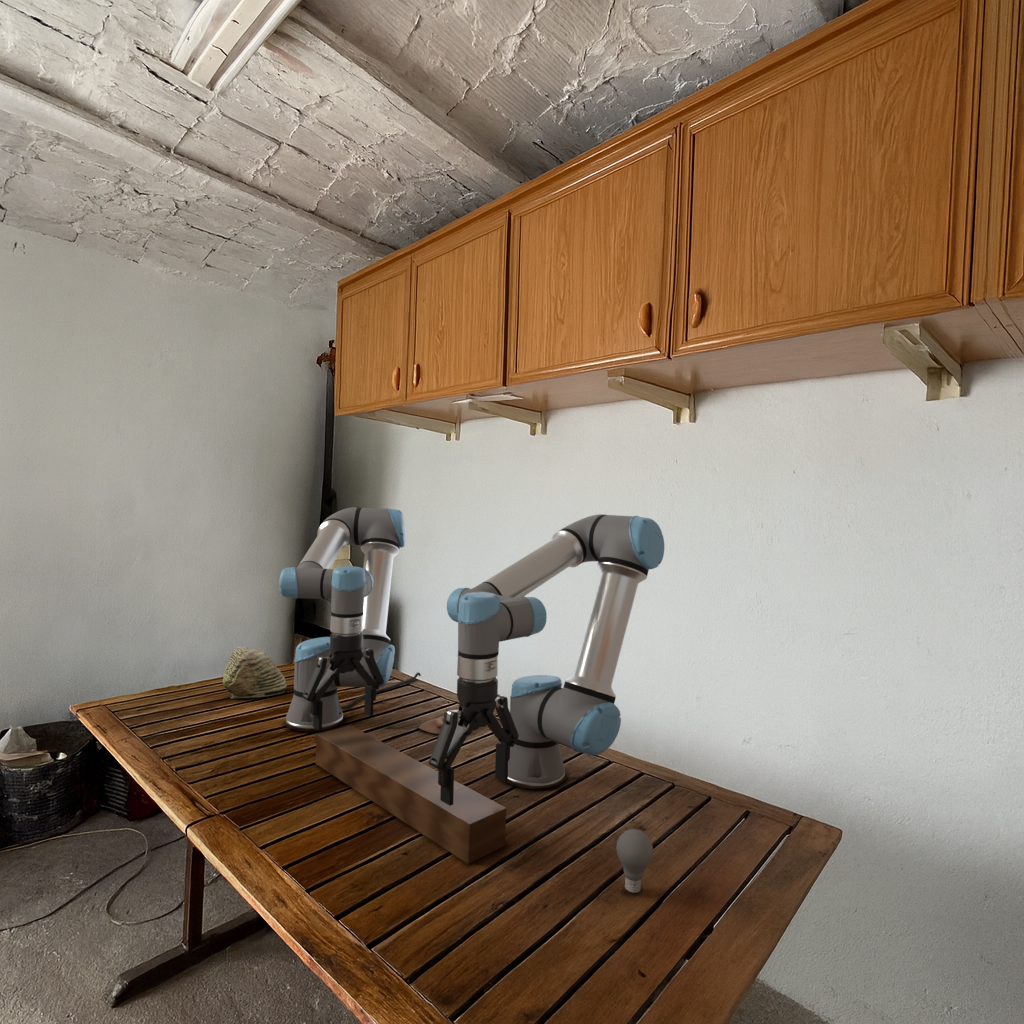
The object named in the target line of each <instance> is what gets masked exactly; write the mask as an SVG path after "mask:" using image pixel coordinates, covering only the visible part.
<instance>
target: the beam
mask: <svg viewBox="0 0 1024 1024" xmlns="http://www.w3.org/2000/svg"><path fill="white" fill-rule="evenodd" d="M315 738H316V739H315V765H316V766H318V767H319V768H321V769H323V770H324V771H326V772H327V773H329V774H330V775H332V776H333V777H334V778H337V779H338V780H339V781H341V782H342V783H344V784H345V785H347V786H349V787H350V788H352V789H353V790H354V791H356V792H357V793H359V794H361V795H362V796H364V797H365V798H367V799H368V800H369V801H371V802H372V803H374V804H376V805H377V806H378V807H381V808H382V809H383V810H385V811H387V812H388V813H389V814H391V815H393V816H394V817H396V818H397V819H399V820H400V821H402V822H403V823H404V824H406V825H407V826H409V827H411V828H412V829H414V830H416V831H417V832H419V833H420V834H422V835H423V836H425V837H426V838H428V839H429V840H431V841H432V842H433V843H436V844H437V845H438V846H440V847H441V848H443V849H444V850H446V851H448V852H449V853H451V854H452V855H453V856H455V857H457V858H458V859H459V860H461V861H463V862H464V863H466V864H467V865H469V864H472V863H473V862H475V861H477V860H479V859H481V858H483V857H485V856H487V855H489V854H492V853H493V852H495V851H497V850H499V849H501V848H503V847H505V846H506V829H507V828H506V827H507V807H505V806H504V805H502V804H500V803H499V802H496V801H494V800H493V799H491V798H488V797H486V796H484V795H483V794H481V793H479V792H477V791H476V790H473V789H472V788H470V787H468V786H467V785H464V784H462V783H460V782H459V781H456V780H455V779H454V796H453V805H451V806H449V805H448V804H446V803H444V802H443V801H441V800H440V796H441V786H440V785H439V784H438V770H436V769H433V768H432V767H430V766H428V765H426V764H425V763H423V762H422V761H421V762H420V761H418V760H417V759H415V758H413V757H411V756H409V755H407V754H405V753H404V752H402V751H400V750H398V749H396V748H394V747H392V746H390V745H388V744H387V743H385V742H382V741H381V740H379V739H377V738H375V737H374V736H371V735H369V734H368V733H366V732H364V731H362V730H360V729H358V728H356V727H354V726H352V725H346V726H342V727H338V728H333V729H329V730H325V731H321V732H319V733H316V737H315Z"/></svg>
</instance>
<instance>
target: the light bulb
mask: <svg viewBox="0 0 1024 1024" xmlns="http://www.w3.org/2000/svg"><path fill="white" fill-rule="evenodd" d="M615 849H616V854H617V857H618V859H619V861H620V863H621V865H622V867H623V873H624V874H623V875H624V876H625V878H624V888H625V890H627V891H628V892H630V893H634V894H635V893H639V892H640V891H641V889H642V887H641V886H642V879H643V877H644V875H645V871H646V868H647V867H648V866H649V864H650V863H651V861H652V859H653V855H654V847H653V843H652V841H651V838H649V836H648V835H647V834H646V833H645V832H643V831H642V830H641V829H636V828H629V829H627V830H625V831H623V832H622V833H621V834H620V835H619V837H618V839H617V841H616V847H615Z"/></svg>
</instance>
